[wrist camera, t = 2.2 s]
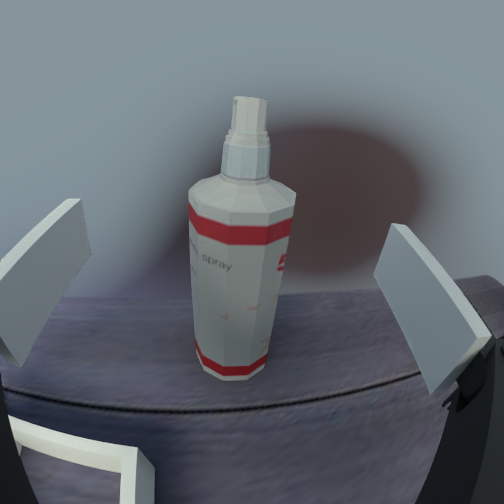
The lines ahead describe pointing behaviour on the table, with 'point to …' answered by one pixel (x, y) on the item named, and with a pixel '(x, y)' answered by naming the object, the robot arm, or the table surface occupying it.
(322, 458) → the table surface
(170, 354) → the table surface
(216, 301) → the spray bottle
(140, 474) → the bottle bracket
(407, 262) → the robot arm
